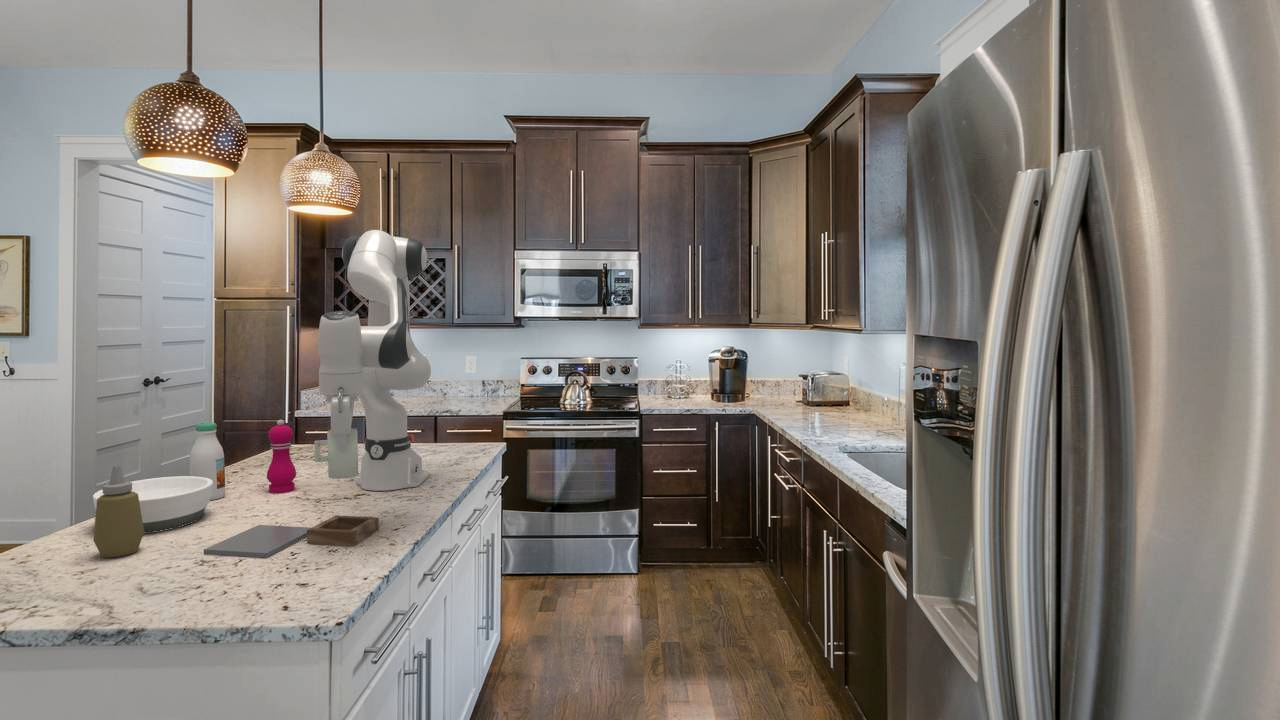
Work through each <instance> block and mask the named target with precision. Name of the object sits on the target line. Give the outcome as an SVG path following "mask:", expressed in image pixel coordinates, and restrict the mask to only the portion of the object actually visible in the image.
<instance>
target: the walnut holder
mask: <svg viewBox="0 0 1280 720" xmlns="http://www.w3.org/2000/svg"><path fill="white" fill-rule="evenodd" d="M379 523H380V522H379V517H375V516H356V515H355V516H354V515H334V516H332V517H330V518H328V519H326V520H324V521H321V522H320V523H318V524H316V525H314V526H312V527H311V528H310V529H308V530H307V537H306V544H307V543H309V544H308V545H319V544H321V545H323V546H341V547H354V545H355V546H357V545H358V544H359V543H361V542H363V541H365V540H366V539H368V538H369V537H371V536H372V535H374V534H376V533H377V532H378V530H380V525H379ZM376 531H377V532H376ZM375 532H376V533H375ZM373 533H374V534H373ZM370 535H371V536H370ZM362 540H363V541H362ZM357 543H358V544H357ZM321 545H320V546H321Z"/></svg>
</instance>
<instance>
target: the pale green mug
mask: <svg viewBox="0 0 1280 720" xmlns="http://www.w3.org/2000/svg"><path fill="white" fill-rule="evenodd" d="M326 432H327V433H326V435H327V436H326V437H327V439H326V440H325V439H324V440H323V439H322V440H314V463H323V462H325V463H326V462H327V469H328V470H327V471H328V473H327V476H328V478H329V479H333V480H334V479H335V480H336V479H337V480H339V479H340V480H341V479H343V480H344V479H351V478H354V477H357V476H358V475H359V445H358V443H359V442H358V440H359V438H358V429H357V428H353V427H351V431H350V433H349V434H347V451H345V452H338V446H337V438H336V435H333V434H332V433H331V429H329V430H327V431H326ZM322 446H323V447H324V446H326V447H327V455H321V447H322Z"/></svg>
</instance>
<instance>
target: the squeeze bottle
mask: <svg viewBox="0 0 1280 720" xmlns="http://www.w3.org/2000/svg"><path fill="white" fill-rule="evenodd" d="M121 466H122V465H114V466H112V468H111V469H112V470H111V475H110V478H109V482H108V483H106V484H103V485H102V489H103V494H105V495H102V496H100V497H99V498H98V499H97V506H96V510H95V518H94V528H93V529H94V530H93V543H94V544H95V547H96V548H97V550H98V552H99V554H100V556H101V557H103V558H118V557H124V556H128V555H131V554H133V553H136V552H138V550H139V548H140V545H141V542H142V539H143V536H144V534H145V533H144V527H143V521H142V515H141V509H140V503H139V497H138V494H137V493H135V492H133V491H132V481H126V479H125V476H124V473H123V470H122V467H121Z"/></svg>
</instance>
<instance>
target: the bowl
mask: <svg viewBox="0 0 1280 720" xmlns="http://www.w3.org/2000/svg"><path fill="white" fill-rule="evenodd" d="M131 482H132V491H133V492H135V493H137V494H138V497H139V503H140V509H141V515H142V521H143V527H144V532H152V533H154V532H153V531H159V532H161V531H160V530H164V531H166V530H165V529H169V530H171V529H170V528H174V529H176V528H175V527H178V528H180V527H179V526H181V527H183V526H182V525H185V524H188V523H190V524H192V523H191V522H193V521H195V520H196V521H198V520H199V519H200V518H201V517H202V515H203V513H204V512H205V510H206V508H207V507H208V505H209V502H210V501H211V500H210V498H211V495H212V487H213V481H212V480H211V479H209V478H204V477H195V476H190V475H183V476H182V475H179V476H163V477H155V478H154V477H153V478H146V479H139V480H134V481H131ZM102 495H105V494H103V488H102V489H100V490H98V491H96V492H95V493H94V494H93V495H92V499H93V504H94V505H93V506H94V509H95V511H96V506H97V499H98V498H99V497H100V496H102ZM200 516H201V517H200ZM197 519H198V520H197ZM196 521H195V522H196ZM193 523H194V522H193ZM188 525H189V524H188ZM185 526H186V525H185Z"/></svg>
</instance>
